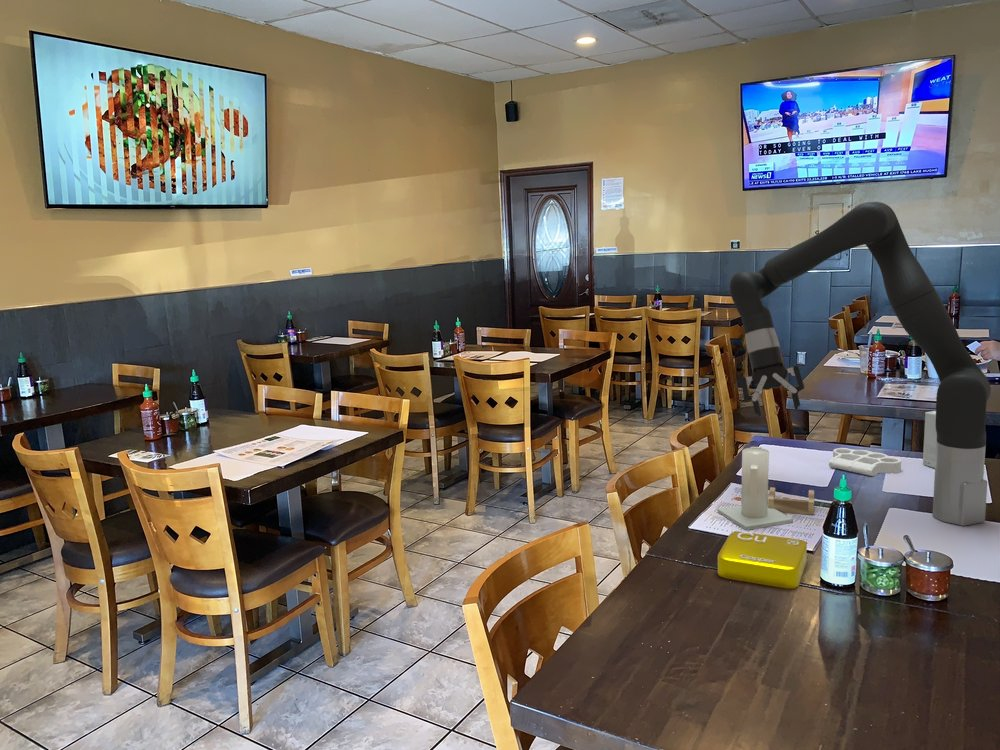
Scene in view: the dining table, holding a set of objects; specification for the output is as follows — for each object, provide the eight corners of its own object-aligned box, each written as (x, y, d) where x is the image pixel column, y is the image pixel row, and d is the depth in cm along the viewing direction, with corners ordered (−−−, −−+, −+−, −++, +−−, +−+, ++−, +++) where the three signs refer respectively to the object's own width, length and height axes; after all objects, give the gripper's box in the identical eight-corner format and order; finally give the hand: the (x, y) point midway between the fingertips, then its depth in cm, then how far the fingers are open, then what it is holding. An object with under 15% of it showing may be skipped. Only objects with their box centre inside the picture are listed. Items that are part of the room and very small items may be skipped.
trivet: (792, 522, 170) (792, 518, 170) (746, 530, 167) (746, 526, 167) (761, 504, 182) (761, 501, 181) (717, 512, 179) (717, 508, 178)
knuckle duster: (817, 467, 208) (844, 455, 217) (883, 481, 194) (909, 468, 203) (817, 455, 207) (845, 444, 216) (883, 469, 193) (910, 456, 202)
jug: (742, 506, 179) (743, 446, 176) (768, 509, 177) (769, 447, 174) (739, 521, 170) (740, 457, 167) (766, 524, 168) (767, 459, 165)
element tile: (715, 578, 146) (715, 555, 145) (731, 548, 159) (731, 527, 158) (797, 592, 139) (797, 568, 138) (807, 559, 152) (808, 537, 151)
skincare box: (939, 470, 199) (942, 416, 196) (921, 464, 204) (923, 411, 202) (964, 466, 201) (967, 412, 198) (945, 460, 207) (948, 407, 204)
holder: (769, 498, 185) (770, 487, 185) (813, 502, 181) (814, 490, 181) (768, 511, 177) (768, 499, 177) (813, 514, 174) (814, 502, 173)
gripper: (732, 354, 186) (747, 418, 184) (793, 340, 181) (808, 406, 178) (736, 357, 193) (750, 418, 190) (794, 344, 188) (809, 407, 185)
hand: (778, 412), depth 184 cm, fingers open, 8 cm apart
